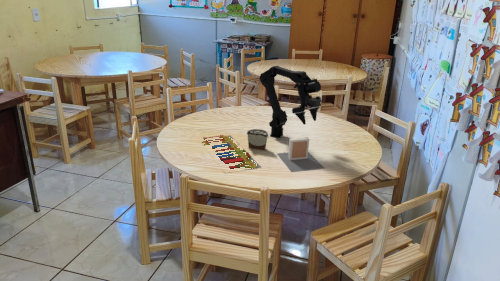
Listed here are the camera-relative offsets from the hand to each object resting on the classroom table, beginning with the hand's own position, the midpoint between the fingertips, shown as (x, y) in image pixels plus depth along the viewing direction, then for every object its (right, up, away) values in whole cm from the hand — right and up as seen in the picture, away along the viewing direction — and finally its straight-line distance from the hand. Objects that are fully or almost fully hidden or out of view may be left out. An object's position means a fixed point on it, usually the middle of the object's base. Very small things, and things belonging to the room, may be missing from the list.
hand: (309, 122), depth 198 cm
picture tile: (-8, -19, -9) cm, 23 cm away
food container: (-28, -14, +3) cm, 32 cm away
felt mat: (-7, -21, -12) cm, 25 cm away
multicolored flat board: (-45, -17, -4) cm, 48 cm away
